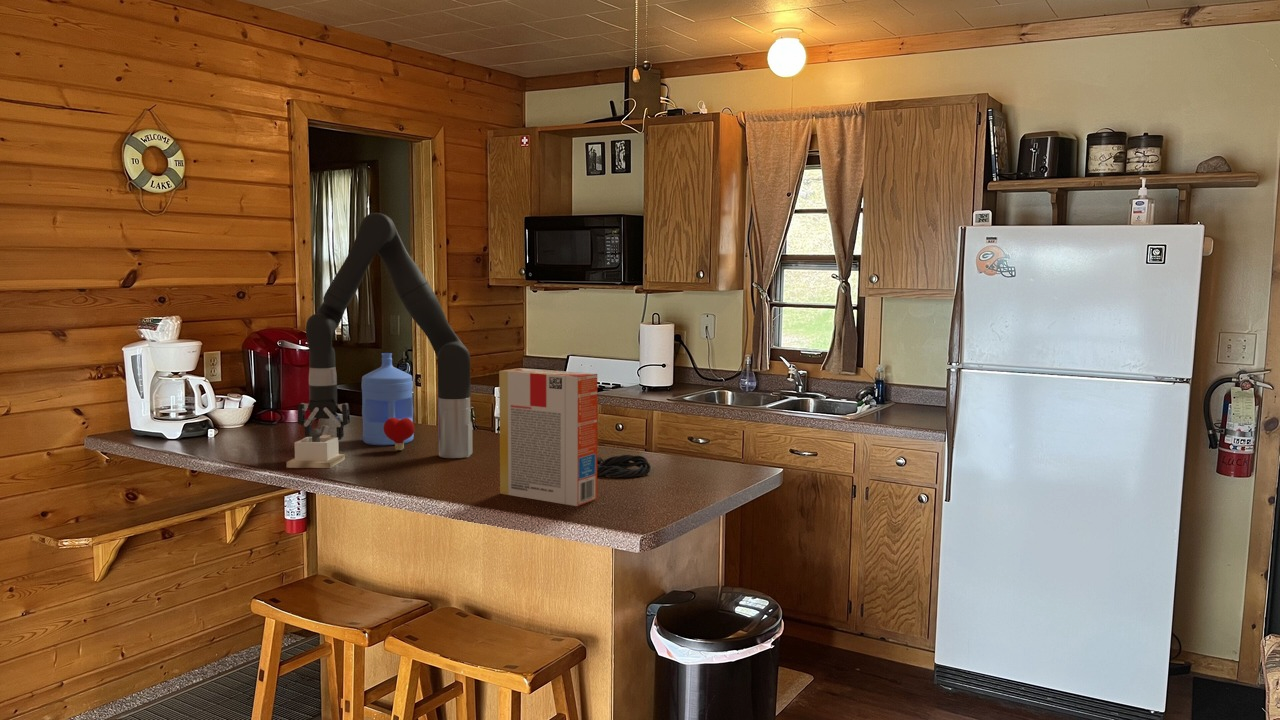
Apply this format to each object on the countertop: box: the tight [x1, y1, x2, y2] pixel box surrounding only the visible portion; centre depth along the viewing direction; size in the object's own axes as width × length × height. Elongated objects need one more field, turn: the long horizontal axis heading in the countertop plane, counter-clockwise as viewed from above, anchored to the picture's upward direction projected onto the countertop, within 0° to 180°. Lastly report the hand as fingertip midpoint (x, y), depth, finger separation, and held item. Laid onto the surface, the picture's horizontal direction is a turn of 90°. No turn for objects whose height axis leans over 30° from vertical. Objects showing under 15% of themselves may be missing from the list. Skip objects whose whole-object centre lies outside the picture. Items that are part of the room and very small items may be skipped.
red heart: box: [384, 418, 416, 452], centre depth 277 cm, size 9×7×10 cm
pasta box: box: [498, 367, 598, 507], centre depth 221 cm, size 23×8×30 cm, turn 59°
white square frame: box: [294, 434, 340, 461], centre depth 261 cm, size 9×12×5 cm
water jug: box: [361, 352, 415, 446], centre depth 292 cm, size 16×16×28 cm
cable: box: [597, 454, 651, 479], centre depth 249 cm, size 17×14×4 cm
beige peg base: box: [286, 428, 346, 469], centre depth 258 cm, size 12×12×10 cm
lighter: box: [319, 424, 330, 436], centre depth 273 cm, size 7×2×8 cm, turn 150°
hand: (324, 439), depth 265 cm, fingers open, 8 cm apart
